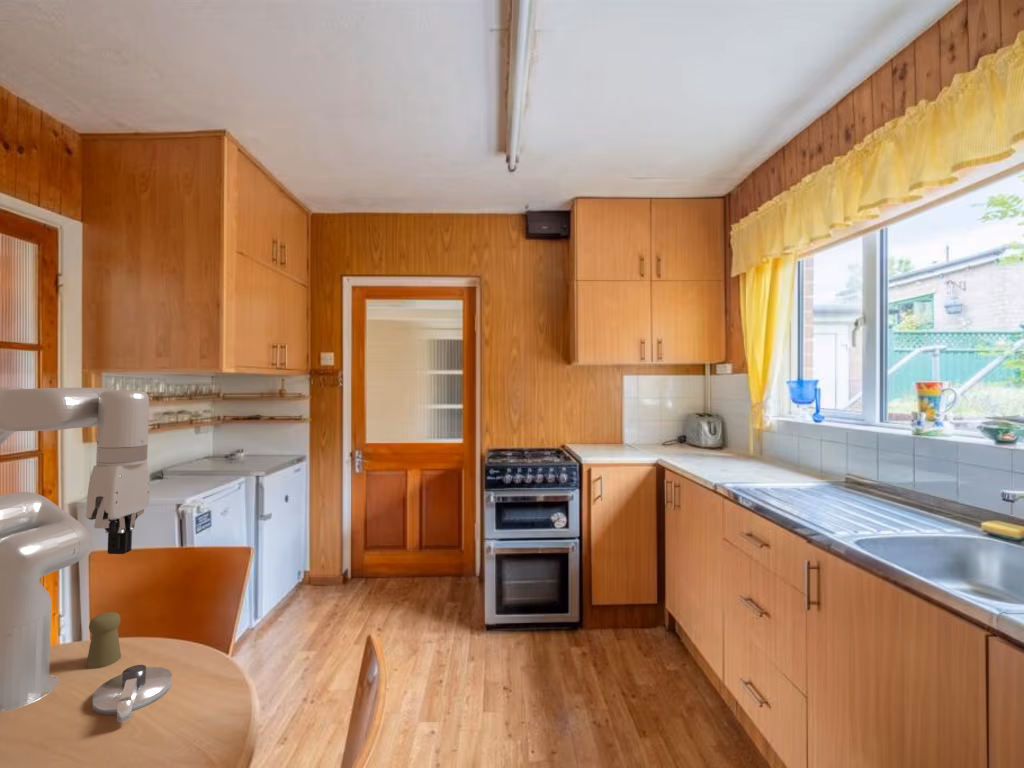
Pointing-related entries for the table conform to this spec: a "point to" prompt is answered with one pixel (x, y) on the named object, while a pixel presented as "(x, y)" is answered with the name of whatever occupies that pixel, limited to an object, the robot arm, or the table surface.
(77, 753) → the table surface
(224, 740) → the table surface
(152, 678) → the dial
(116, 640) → the olive pepper mill
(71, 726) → the table surface
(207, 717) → the table surface
